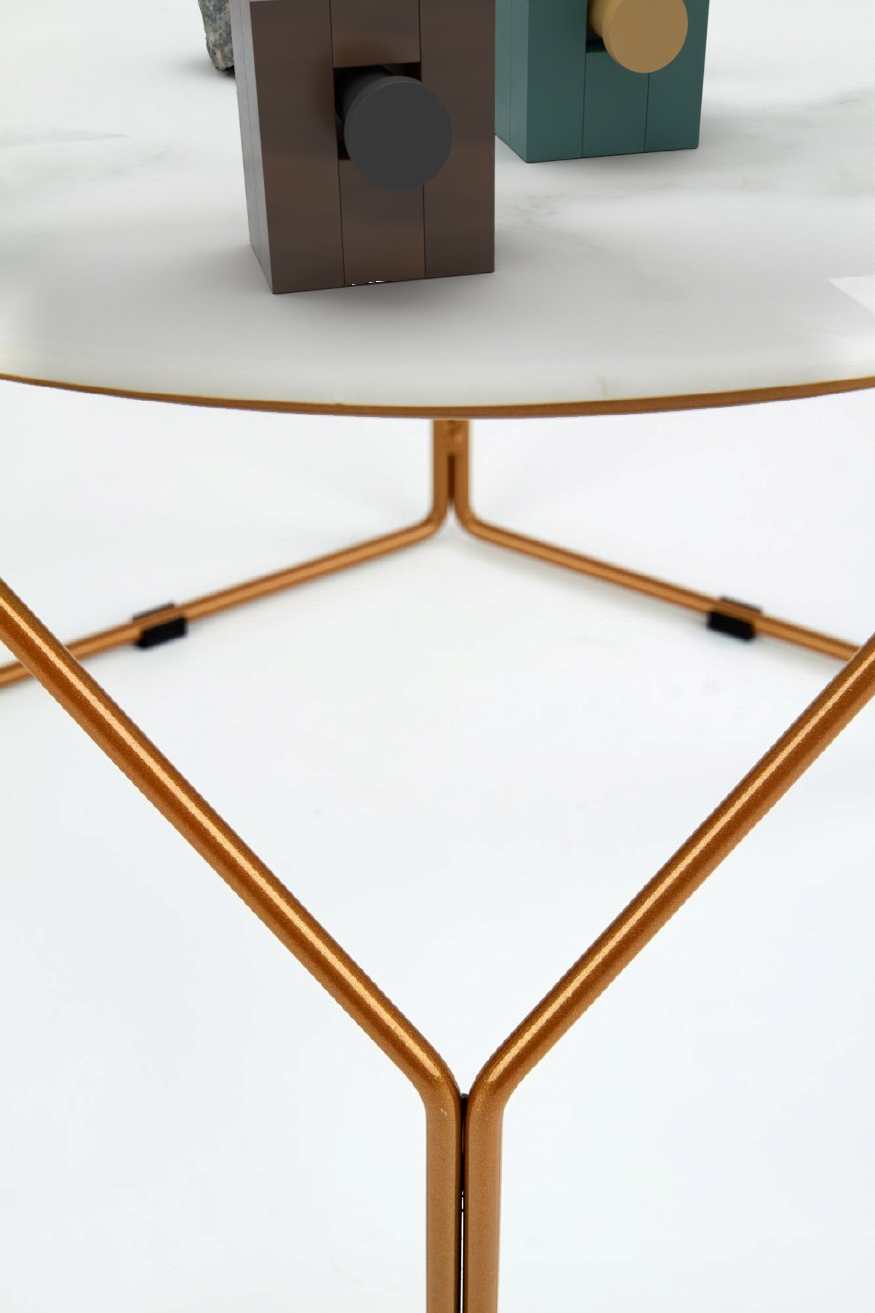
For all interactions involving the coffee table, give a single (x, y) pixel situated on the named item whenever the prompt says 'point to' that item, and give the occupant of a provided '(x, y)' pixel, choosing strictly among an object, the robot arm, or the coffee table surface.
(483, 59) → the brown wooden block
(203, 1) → the rock
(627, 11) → the knob
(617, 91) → the block
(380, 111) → the knob
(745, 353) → the coffee table surface
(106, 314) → the coffee table surface
